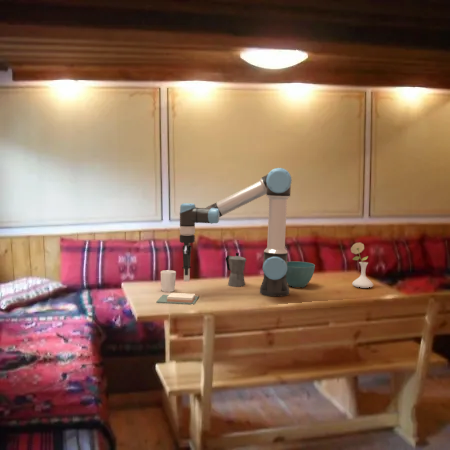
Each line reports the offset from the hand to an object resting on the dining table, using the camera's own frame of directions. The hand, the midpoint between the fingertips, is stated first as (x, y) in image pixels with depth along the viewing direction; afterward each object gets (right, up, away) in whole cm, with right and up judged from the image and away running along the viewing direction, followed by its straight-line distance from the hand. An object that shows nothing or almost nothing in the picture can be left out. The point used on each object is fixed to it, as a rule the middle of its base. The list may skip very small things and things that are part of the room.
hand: (186, 281), depth 300 cm
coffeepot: (+25, -5, +29) cm, 38 cm away
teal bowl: (+59, -6, +29) cm, 66 cm away
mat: (-4, -8, -10) cm, 14 cm away
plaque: (-1, -6, -8) cm, 10 cm away
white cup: (-10, -6, +11) cm, 16 cm away
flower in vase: (+94, -6, +31) cm, 99 cm away
